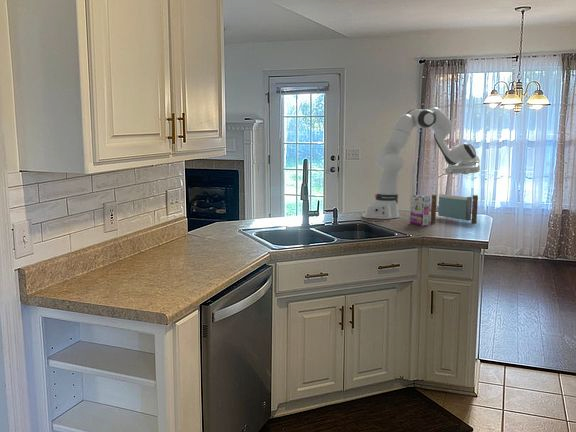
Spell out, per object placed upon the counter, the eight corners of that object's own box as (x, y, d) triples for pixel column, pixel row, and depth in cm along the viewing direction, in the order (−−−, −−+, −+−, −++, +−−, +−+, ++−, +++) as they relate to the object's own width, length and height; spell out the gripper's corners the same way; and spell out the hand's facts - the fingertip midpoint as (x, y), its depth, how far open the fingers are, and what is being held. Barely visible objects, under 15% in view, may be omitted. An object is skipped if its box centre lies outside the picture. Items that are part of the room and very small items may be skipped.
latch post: (431, 222, 320) (432, 195, 318) (430, 222, 322) (431, 194, 320) (435, 223, 320) (436, 195, 317) (435, 222, 322) (436, 194, 320)
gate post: (472, 223, 318) (473, 195, 316) (471, 222, 321) (472, 195, 319) (476, 223, 318) (478, 195, 315) (475, 222, 321) (477, 195, 318)
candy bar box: (429, 225, 311) (430, 196, 309) (422, 226, 309) (423, 197, 307) (416, 222, 321) (417, 194, 319) (409, 223, 319) (410, 194, 317)
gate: (437, 215, 337) (438, 193, 335) (440, 215, 338) (441, 193, 336) (469, 220, 318) (470, 197, 316) (471, 220, 320) (472, 197, 317)
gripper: (449, 163, 352) (440, 168, 342) (481, 161, 340) (473, 166, 329) (450, 172, 354) (441, 178, 344) (482, 171, 341) (474, 177, 331)
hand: (457, 172), depth 337 cm, fingers open, 8 cm apart
